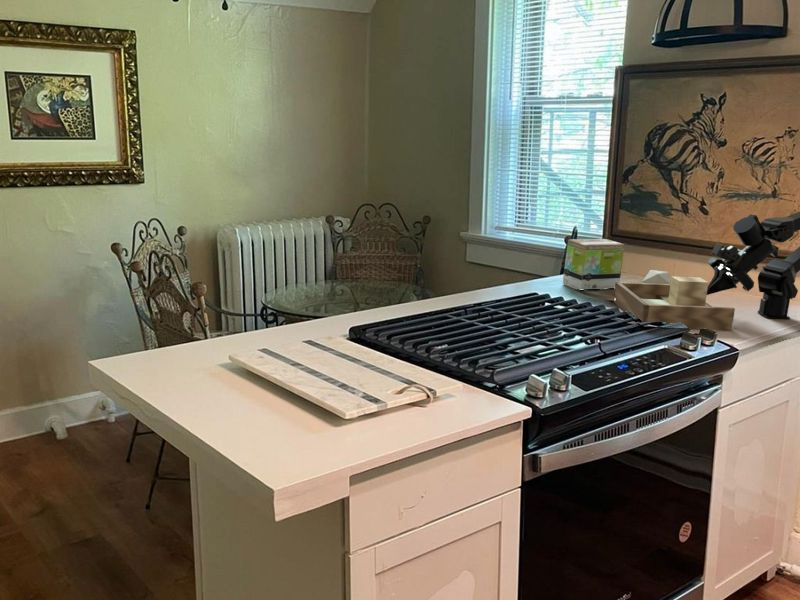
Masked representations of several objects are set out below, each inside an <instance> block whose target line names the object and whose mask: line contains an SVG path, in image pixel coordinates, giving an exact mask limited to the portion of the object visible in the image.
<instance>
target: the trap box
mask: <svg viewBox="0 0 800 600" xmlns="http://www.w3.org/2000/svg"><path fill="white" fill-rule="evenodd" d="M669 291H670V284H653V283H642V282H625V281H624V282H623V281H620V282H616V283H615V289H614V292H613V293H614V294H613V298H614V297H615V298H616V301H613V300H612V301H613V303H614V304H615V305H616V306H617V307H619V309H621V310H622V311H623V312H624V311H629V312H631V313H632V314H633V315H634V316H635V317H638V318H639V319H640V320H641V321H642V322H666V323H678V322H681V323H684V324H685V325H686V326H687V327H688V328H689V329H688V330H698V331H699V330H700V329H701V328H706V329H709V330H708V331H723V332H724V331H726V332H727V331H728V332H732V331H733V330H732V329H733V324H734V317H735V312H736V308H735V307H731V306H730V307H726V306H712V305H711V304H709V303H708V302H706V303H705V306H682V305H671V304H669V303H668V298H669Z"/></svg>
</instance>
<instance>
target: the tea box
mask: <svg viewBox="0 0 800 600" xmlns="http://www.w3.org/2000/svg"><path fill="white" fill-rule="evenodd" d="M625 246H626V245H625V244H624V243H621V242H619V241H618V242H617V241H614V240H611V239H607V238H587V239H585V238H582V239H579V238H578V239H577V238H575V239H573V238H572V239H568V240H567V247H566V251H565V252H566V253H565V260H564V261H565V262H564V269H563V275H562V276H563V277H562V285H564V286H566V287H569V288H572V289H574V290H577V289H600V290H605V289H604V288H614V287H615V283H616V282H621V276H622V267H623V259H624V254H625V253H624V252H625ZM577 291H578V290H577Z"/></svg>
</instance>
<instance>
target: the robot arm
mask: <svg viewBox="0 0 800 600" xmlns="http://www.w3.org/2000/svg"><path fill="white" fill-rule="evenodd" d="M732 228H733V231H734V233H735V234H736V236H737V238H738V239H739V240H740V242H741V243H742V244H743V246H745V247H744V248H742V249H739V248H737V247H735V246H734V245H729V246H728V247H727V246H725V245H723V244H720V243H718V242H717V243H716V244H715V246H714V247H713V248H712V251H711V252H710V253H711V254H712V255H714V256H715V257H714V256H713V257H711V258H709V259H708V260H707V261H706V263H707V264H708V265H709V266H710V268H711V269H712V270H713V271H714V275H713V277H712V279H711V281H710V282H708V289H707V296H710V295H712V294H715V293H720V292H723V291H728V290H731V289H737V288H738V286H737V284H739V283H740V284H741V285H742V290H744V291H746V292H750V291H751V290H752V289H753V288H754V286H755V281H754V280H753V279H752V277H751V276H750V275H749V274H748V273H749V272H751V271H753V270H754V271H757V270H758V269H759V266H758V265H759V264H761V262H763V261H764V260H765V259H766V258H768V257H769V256H770V255H771V256H772V257H774V258H778V255H779V249H780V248H779V247H778V246H776V245H775V244H773V243H772V242H776V243H784V242H787V241H788V240H790V239H791V238H793V237H794V235H795V233H797V231H800V211H798V212H795V213H792V214H789V215H787V216H782V217H781V216H778V217H775V216H774V217H769V218H768V217H767V218H765V219H763V220H762V221H760V220H759V217H758V215H756V214H751V213H749V214H748V216H747V217H746V216H745V217H743V218H740V219H739V220H737V221H736V222H735V223H734V224H733V227H732ZM716 256H717V257H716ZM799 272H800V246H798V247H797V248H796V249H795V250H794V251H793V252H791V253H790V254H789V255H788V256H787V257H786V258H784V259H783V260H782V261H781V260H777V259H771V260H770V261H769V262H768V263H767V264H766V265H765V266H762V267H761V270H760V272H759V273H758V276H757V283H758V292H759V293H763V295H762V298H760V301H759V302H760V304H759V309H758V310H757V313H758V314H759V315H761V316H763V317H765V318H767V319H781V320H782V319H784V320H790V319H791V317H790V316H789V315H788V314H789V307H790V303H791V302H790V301H791V300H793V299H795V298H797V297H796V296H797V295H798V292H799V289H798V288H797V286H796V284H795V282H796V276H797V273H799Z"/></svg>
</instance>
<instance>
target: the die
mask: <svg viewBox="0 0 800 600" xmlns="http://www.w3.org/2000/svg"><path fill="white" fill-rule="evenodd" d="M641 283H653V284H670V283H671V277H670V273H669V271H663V270H655V269H650V270H649V272H648V273H647V274H646V275H645V276H644V278H643V279H642V281H641Z"/></svg>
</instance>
